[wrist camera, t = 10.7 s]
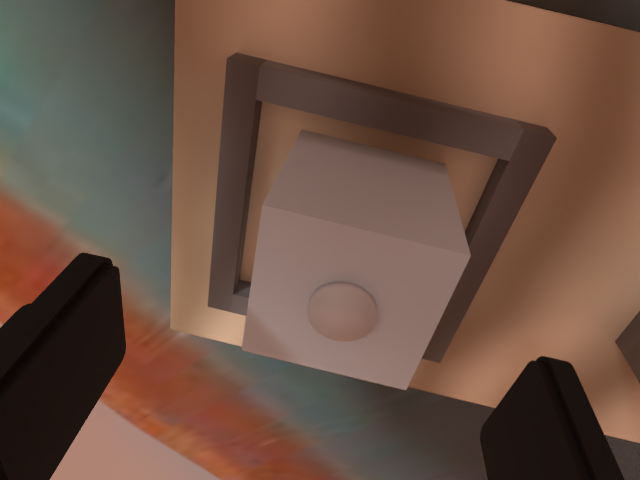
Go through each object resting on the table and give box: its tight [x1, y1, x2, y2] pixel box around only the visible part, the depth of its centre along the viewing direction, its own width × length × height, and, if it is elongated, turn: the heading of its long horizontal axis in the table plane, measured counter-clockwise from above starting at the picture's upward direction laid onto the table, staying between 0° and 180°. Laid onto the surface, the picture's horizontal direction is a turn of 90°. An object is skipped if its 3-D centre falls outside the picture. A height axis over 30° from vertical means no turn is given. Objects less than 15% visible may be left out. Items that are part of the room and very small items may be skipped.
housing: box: [241, 130, 471, 390], centre depth 14 cm, size 5×5×6 cm
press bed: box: [170, 0, 640, 443], centre depth 15 cm, size 26×16×8 cm, turn 78°
